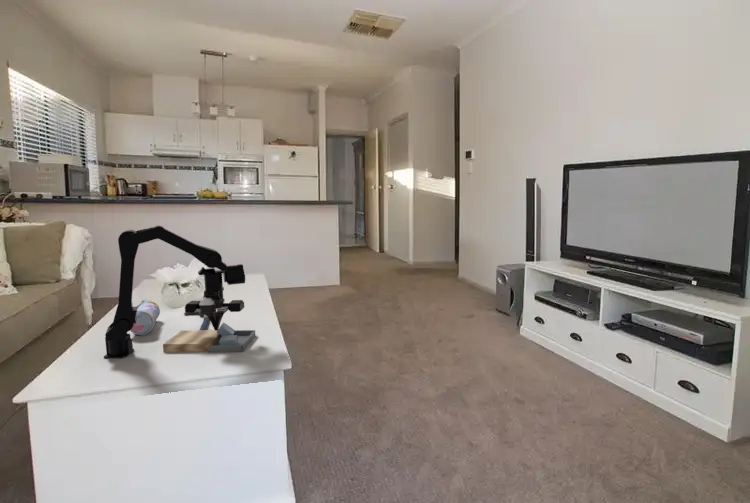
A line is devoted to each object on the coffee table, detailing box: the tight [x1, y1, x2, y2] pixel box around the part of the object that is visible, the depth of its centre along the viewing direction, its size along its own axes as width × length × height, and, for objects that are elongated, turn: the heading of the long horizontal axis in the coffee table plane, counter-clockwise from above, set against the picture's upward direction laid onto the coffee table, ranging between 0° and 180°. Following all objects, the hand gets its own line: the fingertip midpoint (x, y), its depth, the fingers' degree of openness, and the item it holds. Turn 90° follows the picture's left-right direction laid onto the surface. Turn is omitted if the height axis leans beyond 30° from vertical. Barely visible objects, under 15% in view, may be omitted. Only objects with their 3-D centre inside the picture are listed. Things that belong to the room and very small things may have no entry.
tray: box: [207, 329, 256, 353], centre depth 148 cm, size 11×16×2 cm
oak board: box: [162, 329, 222, 353], centre depth 148 cm, size 15×14×2 cm
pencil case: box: [129, 299, 161, 336], centre depth 165 cm, size 21×9×10 cm, turn 21°
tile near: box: [219, 335, 238, 346], centre depth 145 cm, size 5×5×2 cm
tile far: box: [217, 322, 236, 336], centre depth 152 cm, size 5×5×2 cm
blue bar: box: [183, 309, 211, 330], centre depth 172 cm, size 34×2×12 cm
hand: (216, 330), depth 151 cm, fingers closed
